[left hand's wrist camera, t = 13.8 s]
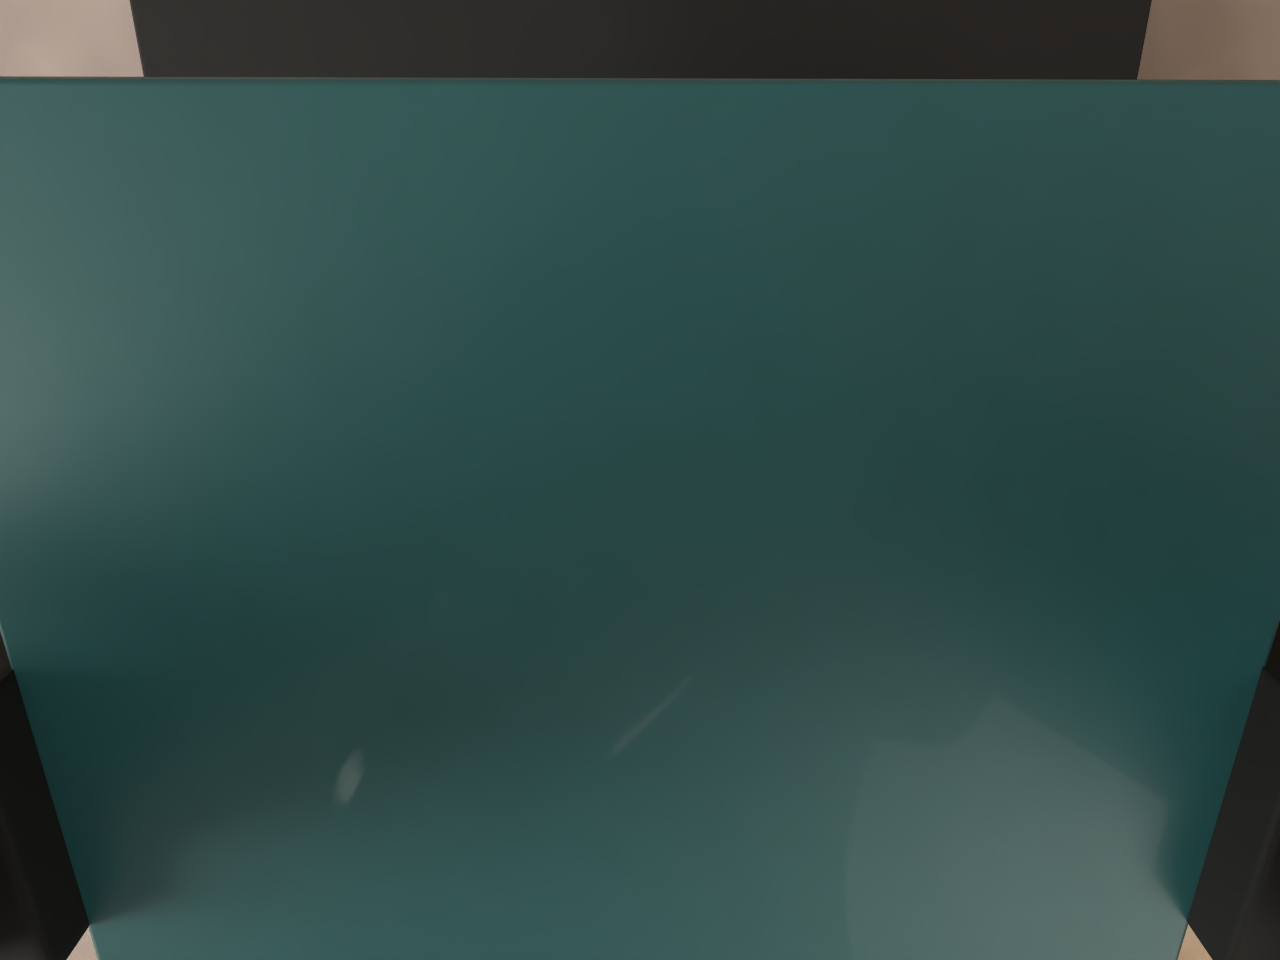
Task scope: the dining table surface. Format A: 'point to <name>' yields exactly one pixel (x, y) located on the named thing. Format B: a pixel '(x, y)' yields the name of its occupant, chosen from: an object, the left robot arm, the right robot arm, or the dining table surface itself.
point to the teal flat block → (638, 508)
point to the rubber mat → (643, 38)
